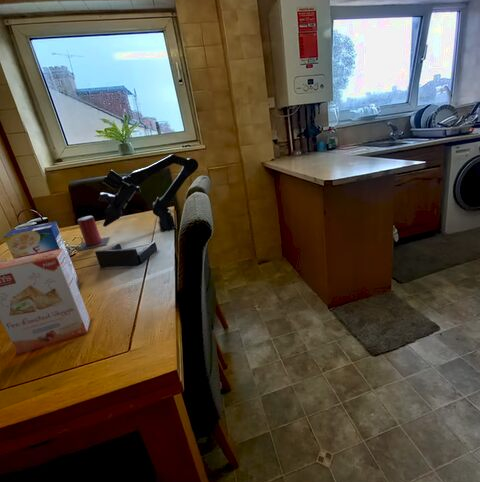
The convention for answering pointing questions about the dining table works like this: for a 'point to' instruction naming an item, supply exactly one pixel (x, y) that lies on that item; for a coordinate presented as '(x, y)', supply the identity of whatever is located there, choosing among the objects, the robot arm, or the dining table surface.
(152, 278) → the dining table surface
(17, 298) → the cracker box
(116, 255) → the compartment
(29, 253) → the blue white cardboard box
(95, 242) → the can
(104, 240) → the mat
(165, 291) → the dining table surface
